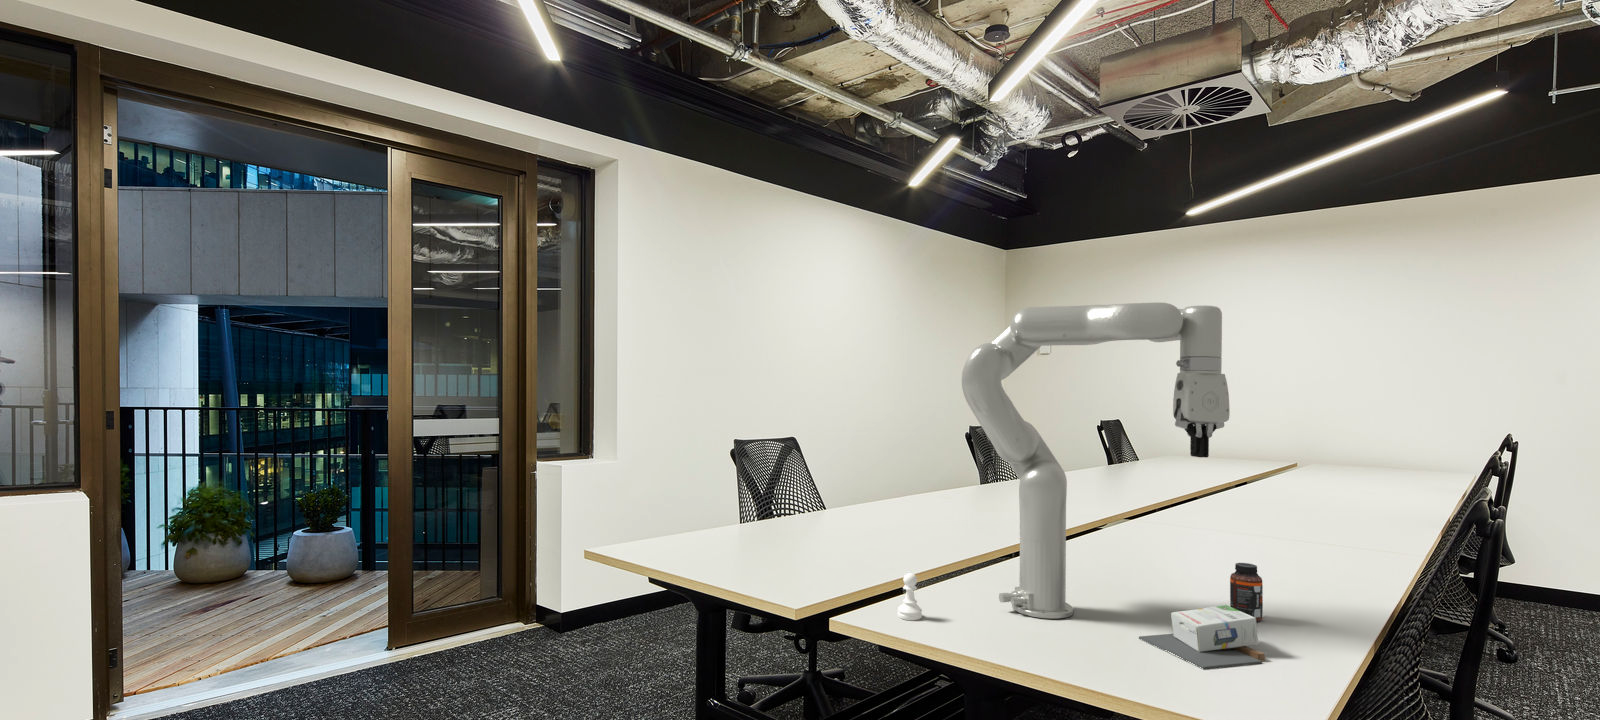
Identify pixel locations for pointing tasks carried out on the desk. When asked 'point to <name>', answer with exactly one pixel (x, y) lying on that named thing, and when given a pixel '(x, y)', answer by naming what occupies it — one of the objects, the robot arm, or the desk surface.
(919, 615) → the chess pawn
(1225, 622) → the ink box
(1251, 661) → the mat
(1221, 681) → the desk surface
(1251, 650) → the stop strip
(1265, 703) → the desk surface
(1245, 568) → the supplement bottle
